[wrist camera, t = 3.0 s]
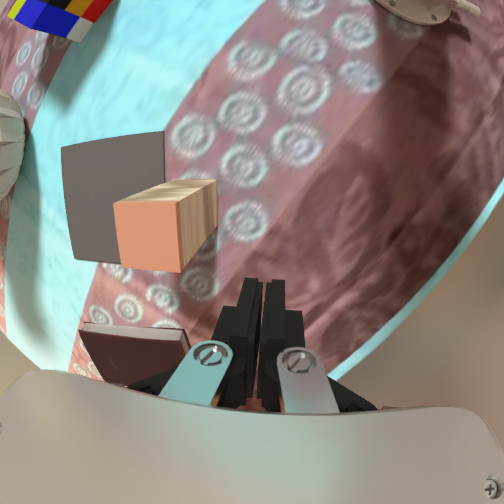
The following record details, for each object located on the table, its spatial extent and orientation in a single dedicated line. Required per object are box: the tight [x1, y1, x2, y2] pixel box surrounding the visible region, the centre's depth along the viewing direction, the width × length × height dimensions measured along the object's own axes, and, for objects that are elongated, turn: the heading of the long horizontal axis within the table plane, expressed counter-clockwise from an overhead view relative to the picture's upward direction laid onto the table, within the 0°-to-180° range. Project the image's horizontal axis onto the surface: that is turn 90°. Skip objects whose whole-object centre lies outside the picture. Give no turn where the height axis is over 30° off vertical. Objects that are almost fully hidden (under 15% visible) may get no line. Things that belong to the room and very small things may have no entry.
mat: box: [61, 131, 165, 263], centre depth 31 cm, size 16×16×1 cm
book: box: [79, 322, 191, 386], centre depth 39 cm, size 12×19×3 cm, turn 96°
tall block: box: [113, 179, 218, 273], centre depth 24 cm, size 5×5×12 cm
